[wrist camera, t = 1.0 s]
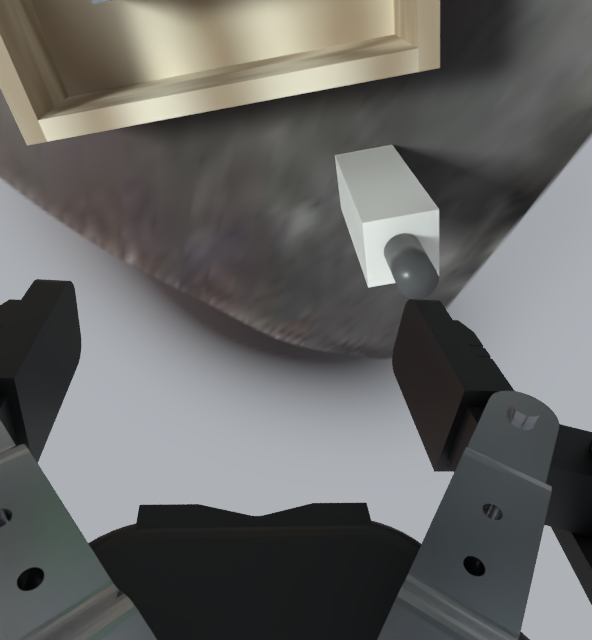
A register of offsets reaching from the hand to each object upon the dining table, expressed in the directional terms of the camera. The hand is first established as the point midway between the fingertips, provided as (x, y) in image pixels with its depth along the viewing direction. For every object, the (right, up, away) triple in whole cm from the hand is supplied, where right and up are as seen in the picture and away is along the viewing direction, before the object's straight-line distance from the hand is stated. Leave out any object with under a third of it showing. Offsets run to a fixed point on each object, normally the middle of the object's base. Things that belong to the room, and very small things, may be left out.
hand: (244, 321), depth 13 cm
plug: (+6, +9, +21) cm, 23 cm away
